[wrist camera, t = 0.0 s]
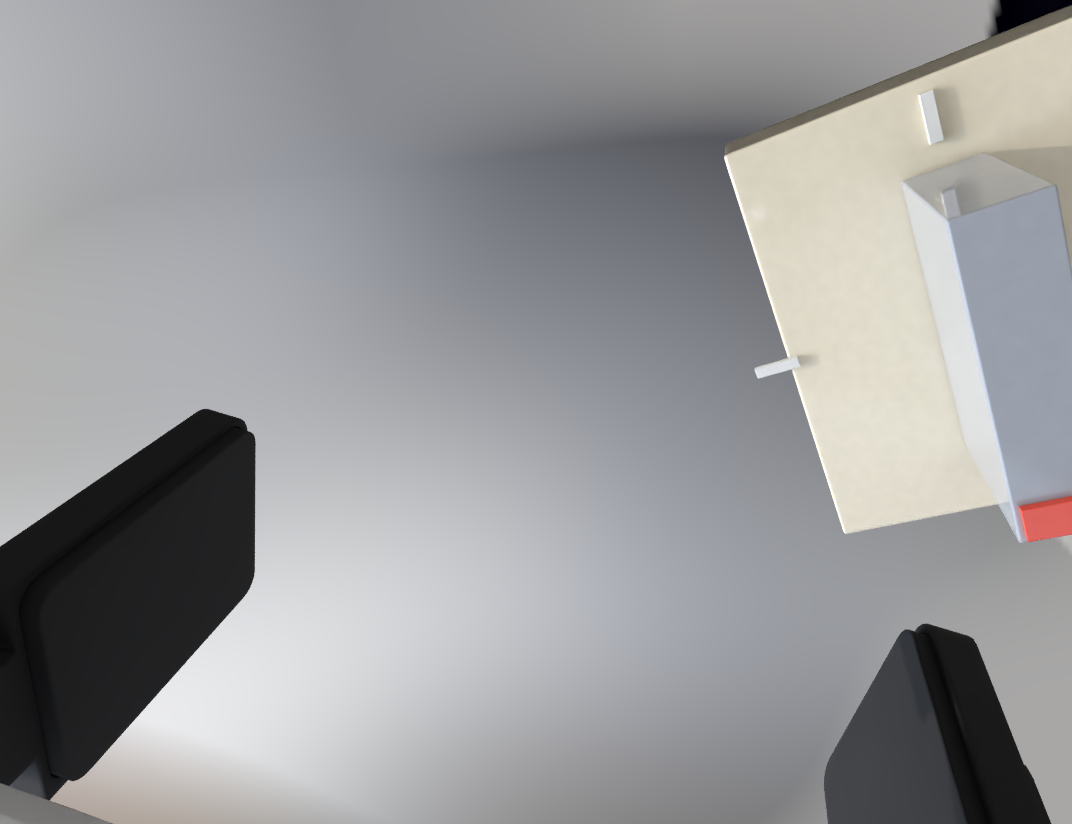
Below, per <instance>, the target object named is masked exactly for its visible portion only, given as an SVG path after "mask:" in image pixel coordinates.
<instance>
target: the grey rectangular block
mask: <svg viewBox="0 0 1072 824" xmlns="http://www.w3.org/2000/svg"><path fill="white" fill-rule="evenodd" d="M902 188H903V192H904V196H905V200H906V205H907V209H908V213H909V217H910V221H911V225H912V229H913V233H914V237H915V241H916V245H917V249H918V254H919V258H920V262H921V266H922V270H923V274H924V278H925V282H926V286H927V290H928V294H929V298H930V302H931V307H932V311H933V315H934V319H935V323H936V327H937V331H938V335H939V339H940V343H941V347H942V351H943V356H944V360H945V364H946V368H947V372H948V376H949V380H950V384H951V388H952V392H953V396H954V400H955V405H956V409H957V413H958V417H959V421H960V425H961V429H962V433H963V437H964V441H965V445H966V447H967V449H968V451H969V453H970V454H971V456H972V458H973V460H974V462H975V463H976V465H977V467H978V469H979V471H980V472H981V474H982V476H983V478H984V480H985V481H986V483H987V485H988V487H989V489H990V490H991V492H992V494H993V496H994V498H995V499H996V501H997V503H998V505H999V506H1000V508H1001V510H1002V512H1003V514H1004V516H1005V517H1006V519H1007V521H1008V523H1009V524H1010V526H1011V528H1012V530H1013V532H1014V533H1015V535H1016V537H1017V539H1018V541H1019V542H1021V543H1026V542H1032V541H1038V540H1043V539H1049V538H1055V537H1060V536H1066V535H1071V534H1072V266H1071V261H1070V255H1069V249H1068V244H1067V238H1066V232H1065V227H1064V221H1063V215H1062V210H1061V204H1060V198H1059V193H1058V187H1057V186H1056V185H1055V184H1053V183H1051V182H1049V181H1046V180H1044V179H1042V178H1040V177H1038V176H1036V175H1033V174H1031V173H1029V172H1027V171H1025V170H1022V169H1020V168H1018V167H1016V166H1014V165H1011V164H1009V163H1007V162H1005V161H1003V160H1001V159H998V158H996V157H994V156H992V155H990V154H987V153H984V152H983V153H980V154H977V155H975V156H972V157H969V158H966V159H963V160H960V161H958V162H955V163H952V164H949V165H946V166H943V167H941V168H938V169H935V170H932V171H929V172H926V173H924V174H921V175H918V176H915V177H912V178H909V179H907V180H904V181H902Z"/></svg>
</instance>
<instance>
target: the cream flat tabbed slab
mask: <svg viewBox="0 0 1072 824" xmlns="http://www.w3.org/2000/svg"><path fill="white" fill-rule="evenodd" d="M983 152H984V153H987V154H990V155H992V156H994V157H996V158H998V159H1001V160H1003V161H1005V162H1007V163H1009V164H1011V165H1014V166H1016V167H1018V168H1020V169H1022V170H1025V171H1027V172H1029V173H1031V174H1033V175H1036V176H1038V177H1040V178H1042V179H1044V180H1046V181H1049V182H1051V183H1053V184H1055V185H1056V186H1057V187H1058V193H1059V198H1060V204H1061V210H1062V215H1063V221H1064V227H1065V232H1066V238H1067V244H1068V249H1069V255H1070V261H1071V266H1072V5H1070V6H1068V7H1065V8H1063V9H1060V10H1058V11H1055V12H1053V13H1050V14H1048V15H1045V16H1043V17H1040V18H1038V19H1035V20H1033V21H1030V22H1028V23H1025V24H1023V25H1020V26H1018V27H1016V28H1013V29H1011V30H1008V31H1006V32H1003V33H1001V34H998V35H996V36H993V37H991V38H988V39H986V40H983V41H981V42H978V43H976V44H973V45H971V46H968V47H966V48H963V49H961V50H958V51H956V52H954V53H951V54H948V55H946V56H944V57H941V58H939V59H936V60H934V61H931V62H929V63H926V64H924V65H922V66H919V67H916V68H914V69H911V70H909V71H907V72H904V73H901V74H899V75H896V76H894V77H891V78H889V79H886V80H884V81H882V82H879V83H876V84H874V85H872V86H869V87H867V88H864V89H862V90H859V91H857V92H854V93H852V94H849V95H847V96H844V97H842V98H839V99H837V100H834V101H832V102H829V103H827V104H825V105H822V106H819V107H817V108H815V109H812V110H809V111H807V112H805V113H802V114H800V115H797V116H795V117H792V118H790V119H787V120H785V121H782V122H780V123H777V124H775V125H772V126H770V127H767V128H765V129H763V130H760V131H757V132H755V133H753V134H750V135H747V136H745V137H742V138H740V139H737V140H735V141H732V142H730V143H728V144H727V145H726V151H725V158H724V159H725V162H726V165H727V168H728V172H729V175H730V177H731V181H732V184H733V187H734V190H735V193H736V197H737V200H738V203H739V206H740V209H741V212H742V215H743V218H744V222H745V225H746V228H747V231H748V234H749V237H750V240H751V243H752V246H753V250H754V253H755V256H756V259H757V262H758V265H759V269H760V272H761V275H762V278H763V281H764V284H765V287H766V290H767V293H768V297H769V300H770V303H771V306H772V309H773V312H774V316H775V319H776V322H777V325H778V328H779V331H780V334H781V337H782V340H783V344H784V347H785V350H786V353H787V356H788V358H787V359H783V360H780V361H777V362H773V363H770V364H766V365H763V366H759V367H756V368H755V372H756V375H757V378H762V377H765V376H769V375H772V374H776V373H779V372H783V371H787V370H790V369H792V372H793V375H794V378H795V381H796V384H797V387H798V391H799V394H800V397H801V400H802V403H803V406H804V409H805V413H806V416H807V419H808V422H809V425H810V428H811V431H812V434H813V437H814V441H815V444H816V447H817V450H818V453H819V456H820V459H821V462H822V466H823V469H824V472H825V475H826V478H827V481H828V485H829V488H830V491H831V494H832V497H833V500H834V503H835V506H836V510H837V513H838V516H839V519H840V522H841V525H842V528H843V531H844V533H845V534H849V533H853V532H858V531H864V530H868V529H873V528H879V527H884V526H889V525H894V524H899V523H904V522H910V521H914V520H920V519H925V518H930V517H935V516H940V515H945V514H950V513H955V512H960V511H965V510H970V509H975V508H980V507H986V506H991V505H996V504H998V503H997V501H996V499H995V498H994V496H993V494H992V492H991V490H990V489H989V487H988V485H987V483H986V481H985V480H984V478H983V476H982V474H981V472H980V471H979V469H978V467H977V465H976V463H975V462H974V460H973V458H972V456H971V454H970V453H969V451H968V449H967V447H966V445H965V441H964V437H963V433H962V429H961V425H960V421H959V417H958V413H957V409H956V405H955V400H954V396H953V392H952V388H951V384H950V380H949V376H948V372H947V368H946V364H945V360H944V356H943V351H942V347H941V343H940V339H939V335H938V331H937V327H936V323H935V319H934V315H933V311H932V307H931V302H930V298H929V294H928V290H927V286H926V282H925V278H924V274H923V270H922V266H921V262H920V258H919V254H918V249H917V245H916V241H915V237H914V233H913V229H912V225H911V221H910V217H909V213H908V209H907V205H906V200H905V196H904V192H903V188H902V181H904V180H907V179H909V178H912V177H915V176H918V175H921V174H924V173H926V172H929V171H932V170H935V169H938V168H941V167H943V166H946V165H949V164H952V163H955V162H958V161H960V160H963V159H966V158H969V157H972V156H975V155H977V154H980V153H983Z"/></svg>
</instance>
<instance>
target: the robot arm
mask: <svg viewBox="0 0 1072 824" xmlns="http://www.w3.org/2000/svg"><path fill="white" fill-rule="evenodd" d="M254 571H255V437H254V435H253V434H252V433H251V432H248V431H247V426H246V424H245V422H244V421H243V420H241V419H239V418H236V417H233V416H229V415H226V414H222V413H219V412H216V411H213V410H209V409H202V410H200V411H198V412H196V413H195V414H193V415H192V416H190V417H189V418H187V419H186V420H185V421H183V422H182V423H180V424H179V425H177V426H176V427H174V428H173V429H171V430H170V431H168V432H167V433H166V434H164V435H163V436H162V437H160V438H158V439H157V440H155V441H154V442H152V443H151V444H150V445H148V446H147V447H145V448H144V449H142V450H141V451H139V452H138V453H136V454H135V455H133V456H132V457H131V458H129V459H128V460H126V461H125V462H123V463H122V464H120V465H119V466H117V467H116V468H114V469H113V470H112V471H110V472H109V473H107V474H106V475H104V476H103V477H101V478H100V479H99V480H97V481H96V482H94V483H93V484H91V485H90V486H88V487H87V488H86V489H84V490H82V491H81V492H79V493H78V494H76V495H75V496H74V497H72V498H71V499H69V500H68V501H66V502H65V503H63V504H62V505H61V506H59V507H57V508H56V509H55V510H53V511H52V512H50V513H49V514H47V515H46V516H44V517H43V518H42V519H40V520H38V521H37V522H36V523H34V524H33V525H31V526H30V527H28V528H27V529H25V530H24V531H22V532H21V533H19V534H18V535H17V536H15V537H14V538H12V539H11V540H9V541H8V542H7V543H5V544H4V545H2V546H1V547H0V824H112V823H109V822H107V821H104V820H101V819H98V818H96V817H93V816H91V815H88V814H85V813H83V812H80V811H77V810H75V809H71V808H69V807H66V806H63V805H60V804H58V803H55V802H52V801H49V800H50V799H51V798H52V797H53V796H54V795H55V794H56V793H57V791H58V790H59V789H60V788H61V787H62V786H63V785H64V784H65V783H66V782H67V780H71V781H75V780H78V779H80V778H81V777H83V776H84V775H85V774H86V773H87V772H88V771H89V770H90V769H91V768H92V767H93V766H94V765H95V764H96V762H97V761H98V760H99V759H100V758H101V757H102V756H103V755H104V753H105V752H106V751H107V750H108V749H109V748H110V747H111V745H112V744H113V743H114V742H115V741H116V740H117V739H118V738H119V737H120V736H121V734H122V733H123V732H124V731H125V730H126V729H127V728H128V727H129V725H130V724H131V723H132V722H133V721H134V720H135V719H136V718H137V716H138V715H139V714H140V713H141V712H142V711H143V710H144V709H145V707H146V706H147V705H148V704H149V703H150V702H151V701H152V700H153V698H154V697H155V696H156V695H157V694H158V693H159V692H160V691H161V689H162V688H163V687H164V686H165V685H166V684H167V683H168V682H169V681H170V679H171V678H172V677H173V676H174V675H175V674H176V673H177V672H178V670H179V669H180V668H181V667H182V666H183V665H184V664H185V663H186V661H187V660H188V659H189V658H190V657H191V656H192V655H193V654H194V652H195V651H196V650H197V649H198V648H199V647H200V646H201V644H202V643H203V642H204V641H205V640H206V639H207V638H208V636H210V634H211V633H212V632H213V631H214V630H215V629H216V628H217V627H218V626H219V624H220V623H221V622H222V621H223V620H224V619H225V618H226V616H227V615H228V614H229V613H230V612H231V611H232V610H233V609H234V608H235V606H236V605H237V604H238V603H239V602H240V601H241V600H242V599H243V597H244V596H245V595H246V594H247V592H248V590H249V588H250V586H251V584H252V581H253V578H254ZM824 791H825V799H826V808H827V818H828V824H1051V822H1050V819H1049V817H1048V815H1047V812H1046V809H1045V807H1044V805H1043V802H1042V799H1041V797H1040V794H1039V792H1038V789H1037V787H1036V784H1035V782H1034V779H1033V777H1032V775H1031V774H1030V772H1029V770H1028V769H1027V767H1026V766H1025V765H1024V764H1023V761H1022V759H1021V756H1020V754H1019V751H1018V749H1017V746H1016V744H1015V741H1014V739H1013V736H1012V733H1011V731H1010V728H1009V726H1008V723H1007V721H1006V718H1005V716H1004V713H1003V710H1002V708H1001V705H1000V703H999V700H998V698H997V695H996V693H995V690H994V687H993V685H992V682H991V680H990V677H989V675H988V672H987V670H986V667H985V664H984V662H983V660H982V657H981V655H980V652H979V649H978V647H977V644H976V643H975V641H974V639H972V638H971V637H969V636H967V635H963V634H960V633H957V632H953V631H949V630H947V629H943V628H940V627H936V626H933V625H930V624H922V625H920V626H919V627H918V628H917V629H916V631H915V632H914V631H911V630H904V631H903V632H901V634H900V635H899V637H898V638H897V640H896V642H895V644H894V645H893V647H892V649H891V651H890V652H889V654H888V656H887V658H886V659H885V661H884V663H883V665H882V667H881V668H880V670H879V672H878V674H877V675H876V677H875V679H874V681H873V683H872V684H871V686H870V688H869V690H868V691H867V693H866V695H865V697H864V699H863V700H862V702H861V704H860V706H859V707H858V709H857V711H856V713H855V714H854V716H853V718H852V720H851V722H850V723H849V725H848V727H847V729H846V730H845V732H844V734H843V736H842V737H841V739H840V741H839V743H838V744H837V746H836V748H835V750H834V752H833V753H832V755H831V757H830V759H829V761H828V763H827V767H826V771H825V777H824Z"/></svg>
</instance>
